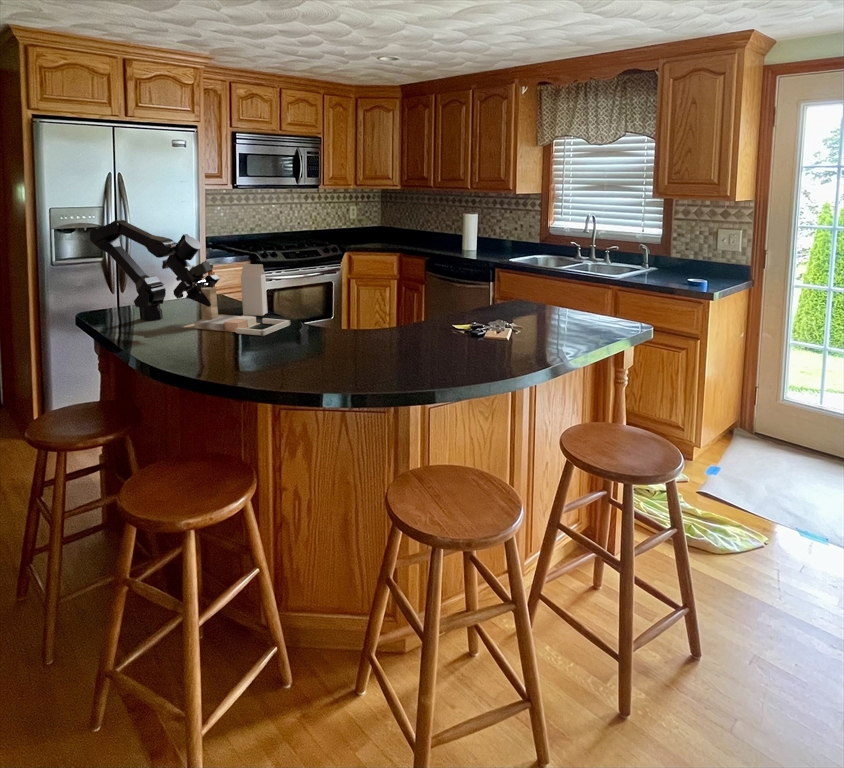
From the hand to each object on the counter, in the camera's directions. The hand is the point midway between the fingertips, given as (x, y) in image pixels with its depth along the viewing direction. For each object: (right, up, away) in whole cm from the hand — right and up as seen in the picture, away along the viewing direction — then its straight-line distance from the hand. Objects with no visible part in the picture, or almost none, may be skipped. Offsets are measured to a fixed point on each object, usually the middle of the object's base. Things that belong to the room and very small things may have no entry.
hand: (213, 304), depth 249 cm
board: (+2, -8, +1) cm, 9 cm away
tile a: (+10, -7, +1) cm, 12 cm away
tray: (+18, -10, -4) cm, 20 cm away
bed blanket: (+2, -7, +1) cm, 7 cm away
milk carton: (+9, -3, +21) cm, 23 cm away
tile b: (+8, -8, -4) cm, 12 cm away
